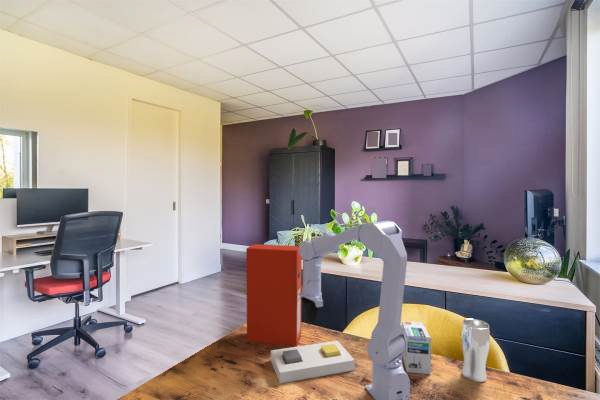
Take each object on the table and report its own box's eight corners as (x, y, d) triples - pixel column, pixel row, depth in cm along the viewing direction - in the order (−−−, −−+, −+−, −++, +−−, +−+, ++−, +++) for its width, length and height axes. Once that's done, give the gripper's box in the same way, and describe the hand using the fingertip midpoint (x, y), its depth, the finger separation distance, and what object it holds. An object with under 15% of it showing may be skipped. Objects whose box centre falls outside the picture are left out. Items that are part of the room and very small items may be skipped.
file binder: (296, 347, 105) (296, 250, 104) (246, 341, 109) (246, 248, 107) (301, 335, 113) (301, 246, 111) (254, 331, 116) (254, 243, 115)
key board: (354, 370, 92) (354, 360, 92) (279, 383, 86) (279, 372, 86) (337, 349, 104) (337, 340, 103) (270, 360, 97) (270, 350, 97)
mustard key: (340, 360, 95) (340, 350, 95) (326, 363, 94) (326, 353, 93) (334, 353, 99) (334, 343, 99) (320, 355, 98) (320, 345, 98)
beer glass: (492, 385, 86) (494, 330, 85) (464, 381, 87) (466, 327, 86) (483, 370, 92) (484, 319, 92) (457, 367, 94) (458, 317, 93)
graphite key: (301, 367, 91) (301, 356, 91) (286, 369, 90) (286, 359, 90) (297, 359, 96) (297, 349, 95) (282, 361, 94) (282, 351, 94)
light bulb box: (431, 375, 90) (432, 337, 89) (406, 373, 91) (407, 335, 91) (422, 355, 100) (423, 321, 100) (400, 353, 102) (401, 320, 101)
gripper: (293, 273, 106) (292, 313, 106) (306, 286, 92) (306, 333, 92) (313, 271, 108) (313, 311, 108) (329, 284, 94) (329, 330, 94)
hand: (311, 321), depth 100 cm, fingers closed
